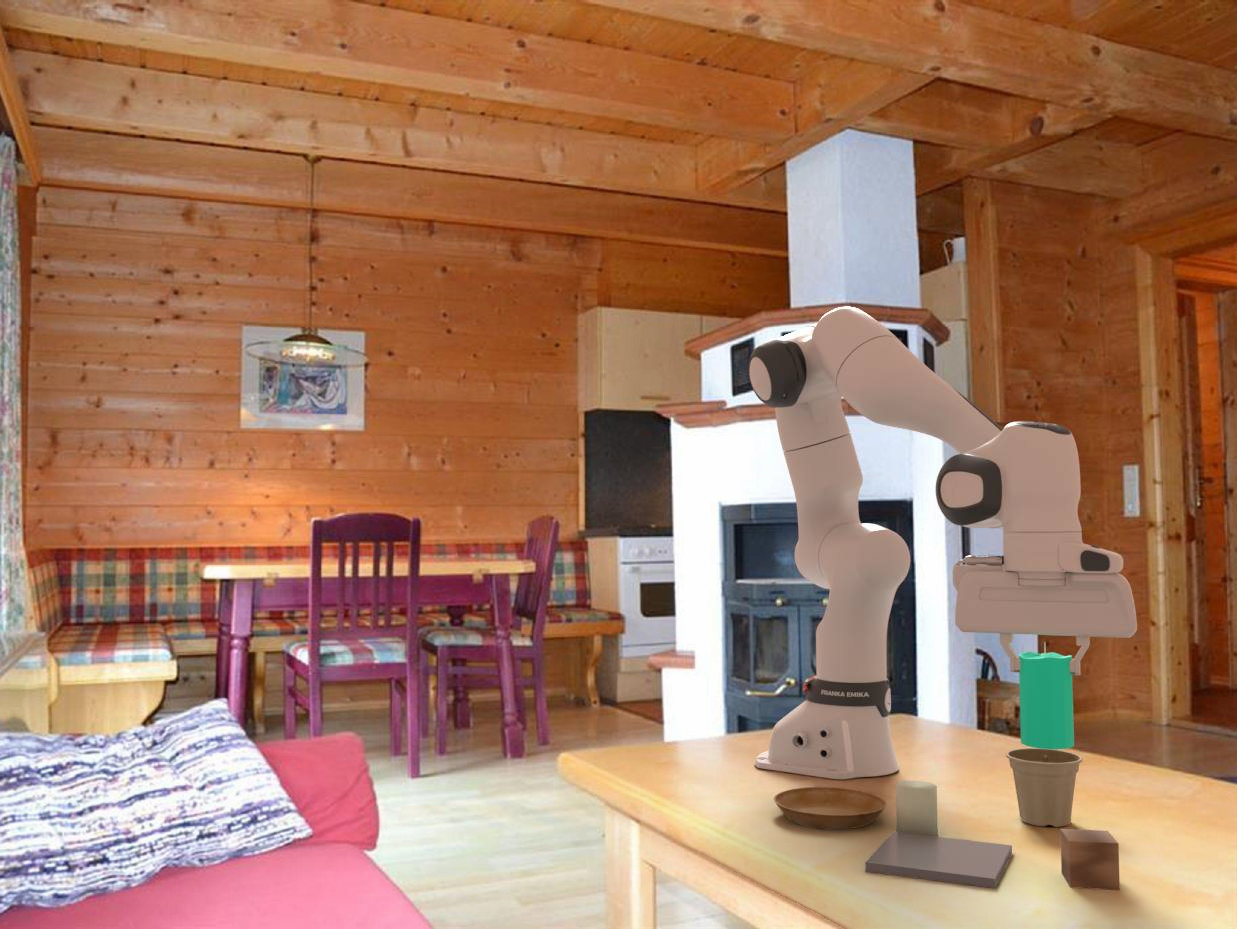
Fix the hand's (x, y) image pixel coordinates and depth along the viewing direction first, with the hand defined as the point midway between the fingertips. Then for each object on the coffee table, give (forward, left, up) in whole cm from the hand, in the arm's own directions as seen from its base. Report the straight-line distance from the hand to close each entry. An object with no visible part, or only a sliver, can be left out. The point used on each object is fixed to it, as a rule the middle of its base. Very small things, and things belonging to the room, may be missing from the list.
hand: (1045, 673), depth 135 cm
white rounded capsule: (-16, +3, -21) cm, 27 cm away
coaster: (-11, -8, -21) cm, 25 cm away
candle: (0, 0, -9) cm, 9 cm away
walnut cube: (+5, -8, -21) cm, 23 cm away
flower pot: (-2, +16, -22) cm, 27 cm away
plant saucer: (-28, +6, -22) cm, 36 cm away
